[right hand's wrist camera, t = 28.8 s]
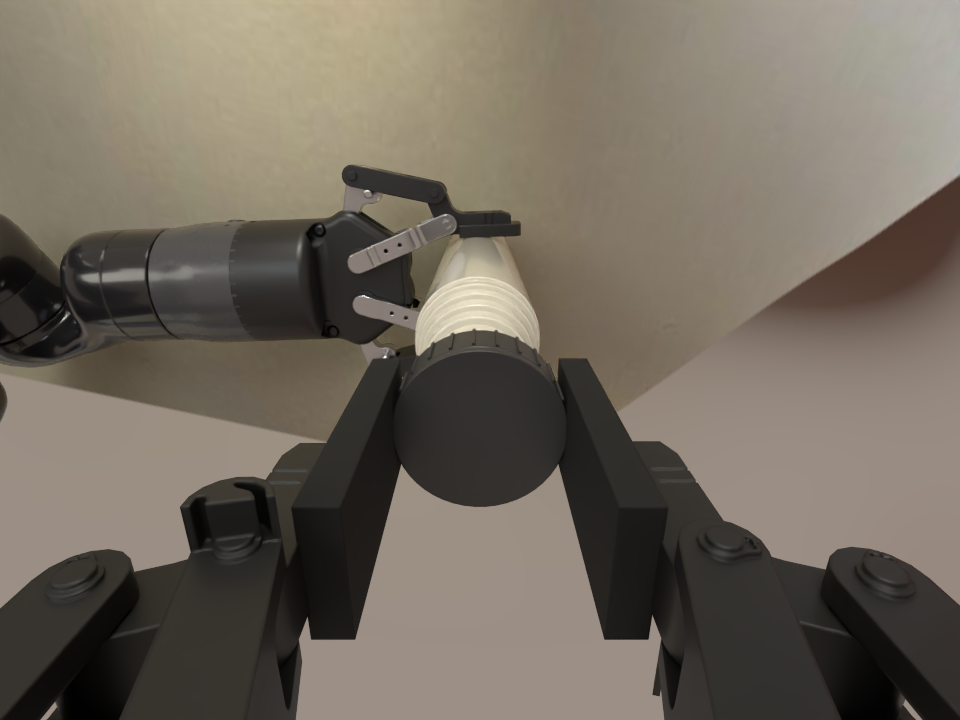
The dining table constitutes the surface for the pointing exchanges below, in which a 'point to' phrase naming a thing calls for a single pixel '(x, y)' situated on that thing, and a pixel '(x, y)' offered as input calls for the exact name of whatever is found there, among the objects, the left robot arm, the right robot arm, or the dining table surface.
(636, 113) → the dining table surface
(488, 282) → the bottle
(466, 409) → the cap
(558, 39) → the dining table surface
